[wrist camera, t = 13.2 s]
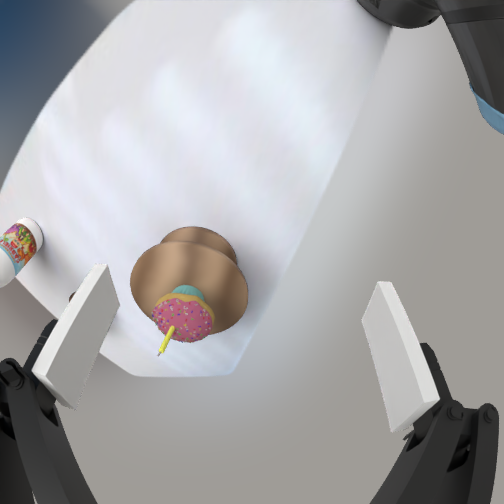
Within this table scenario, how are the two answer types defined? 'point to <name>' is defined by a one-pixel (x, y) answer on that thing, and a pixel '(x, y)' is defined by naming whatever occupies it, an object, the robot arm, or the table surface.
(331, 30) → the table surface
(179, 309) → the cupcake
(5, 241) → the milk bottle
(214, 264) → the cake stand
